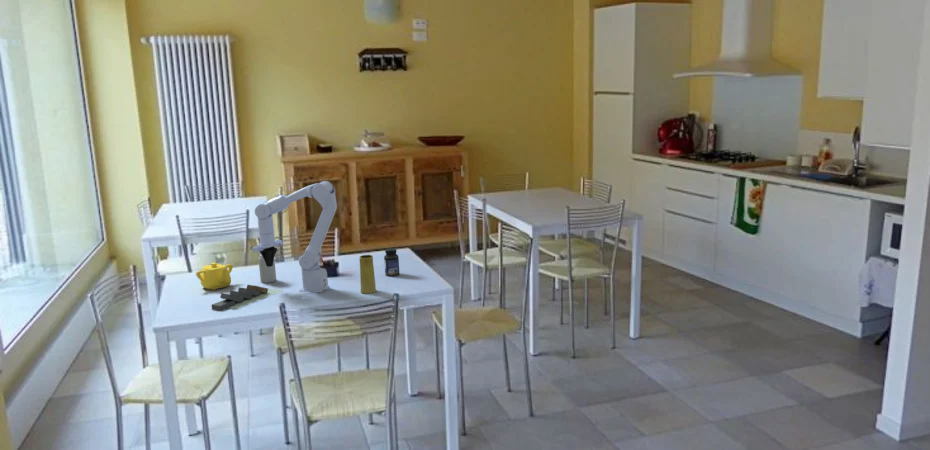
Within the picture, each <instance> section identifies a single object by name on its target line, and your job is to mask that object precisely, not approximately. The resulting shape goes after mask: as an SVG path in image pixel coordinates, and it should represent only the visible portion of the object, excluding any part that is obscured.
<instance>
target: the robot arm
mask: <svg viewBox="0 0 930 450" xmlns="http://www.w3.org/2000/svg"><path fill="white" fill-rule="evenodd" d="M306 197H307V198H311V199H312V198H314V200H316V201H317V203H319V205H320V206H321V207H322V211H321V213H320V216H319V218H318V220H317V223H316V226H315V229H314V231H313V233H312V235H311V239H310V240H309V244H308V246H307V247H306V249H305V250H304V253H303V254H302V255H301V256H300V257H299V259H298V264H299V266H300V268H301V277H302V278H301V280H302V288H300V289H299V290H298V291H299V292H304V293H305V292H306V293H307V292H308V293H309V292H311V293H322V292H324V291H325V290H326V289H328V288H329V286H330V285H329V281H328V272H327V269H326V268H323V267H321V265H320V264H319V263H320V261H321V259H322V258H321V252H322V247H323V244H324V241H325V239H326V237H327V234H328V232H329V228H330V227H331V224H332V222H333V219H334V216H335V213H336V212H337V210H338V205H337V204H338V203H337V197H336V188H335V187H334V186H333V184H332V182H331V181H328V180H323V181H320V182H317V183H313V184H310V185H307V186H305V187H303V188H301V189H299V190H296V191H294V192H293V193H290V194H289V195H285V194H277V195H275V197H273V198H271V199H267V200H265V201H264V202H263V203H260V204H258V205H257V206H256V207H255V208H254V214H255V216H256V218H257V225H258V234H259V236H258V238H259V243H258V245H256V246H253V247H252V253H259V254H261V255H262V256H263V258H264V260H265V263H266V266H268V267H271V266H273V261H274V260H275V257H276V254H277V252H278V246H283V240H281V239H278V240H275V239H276V238H275V229H274V220H273V215H275V214H277V213H280V212H282V211H285V210H286V209H288V208H289V207H290V204H291V203H294V202H296V201H299V200H301V199H303V198H306Z"/></svg>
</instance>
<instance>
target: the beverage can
mask: <svg viewBox="0 0 930 450" xmlns="http://www.w3.org/2000/svg"><path fill="white" fill-rule="evenodd" d="M257 259H258V266H259V267H258V269H259V278H260V283H263V284H271V283H274V282H276V281H277V272H276V261H275V260H276V259H274V261H273V266H271V267H268V266H266V263H265V260H264V258H263V256H262V255H261V253H259V254H258V258H257Z"/></svg>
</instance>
